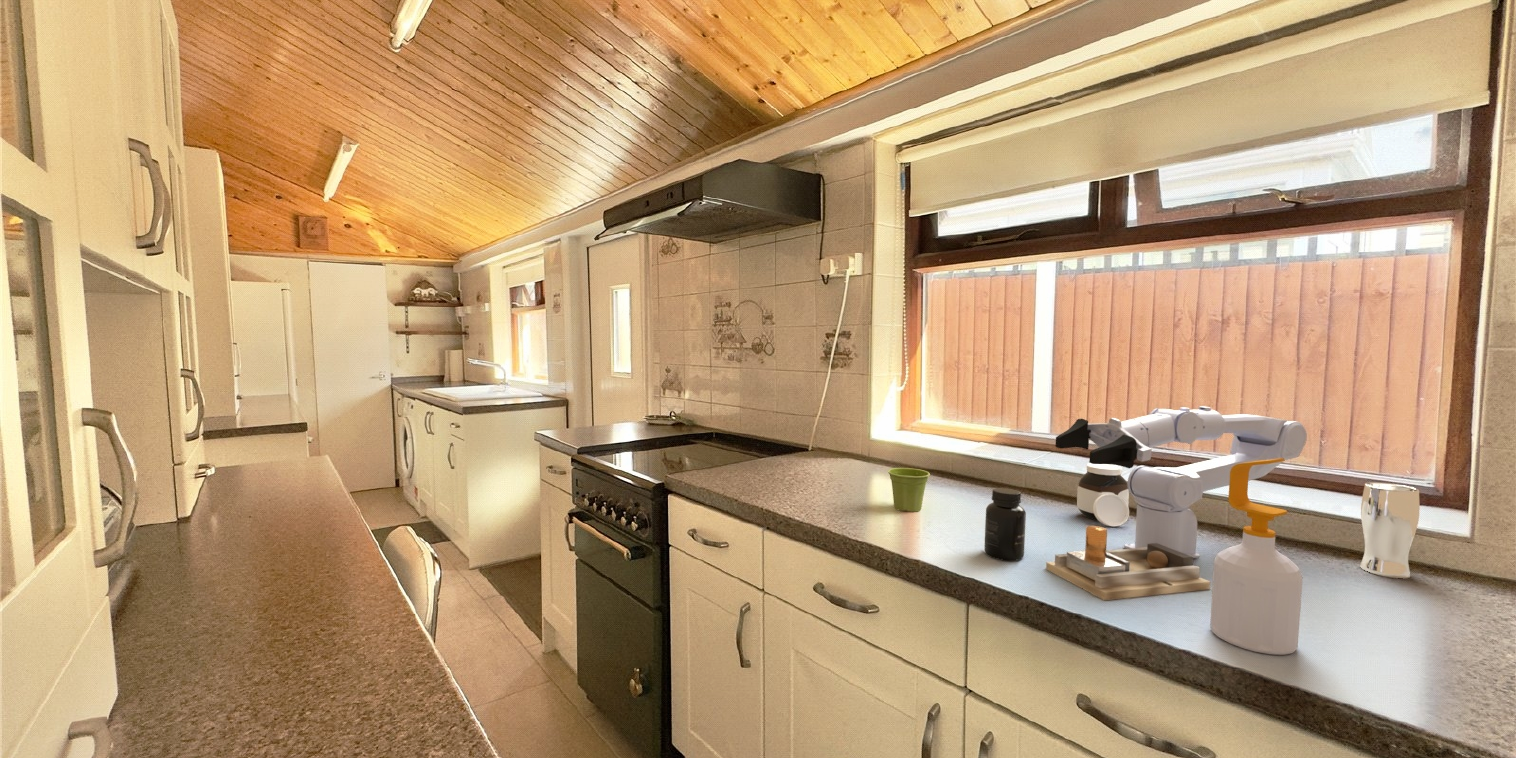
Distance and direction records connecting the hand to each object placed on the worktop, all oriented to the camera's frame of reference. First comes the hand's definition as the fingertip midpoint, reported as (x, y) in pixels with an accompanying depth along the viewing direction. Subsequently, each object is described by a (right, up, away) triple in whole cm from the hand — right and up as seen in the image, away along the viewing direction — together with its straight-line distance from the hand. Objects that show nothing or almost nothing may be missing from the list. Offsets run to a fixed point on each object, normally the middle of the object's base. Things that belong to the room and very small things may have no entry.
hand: (1073, 449), depth 108 cm
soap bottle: (+11, -23, -26) cm, 36 cm away
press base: (+6, -21, -5) cm, 22 cm away
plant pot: (-20, -18, +36) cm, 45 cm away
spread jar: (+22, -19, +28) cm, 40 cm away
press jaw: (0, -19, -7) cm, 20 cm away
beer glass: (+53, -21, -1) cm, 57 cm away
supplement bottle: (-10, -20, +5) cm, 23 cm away
